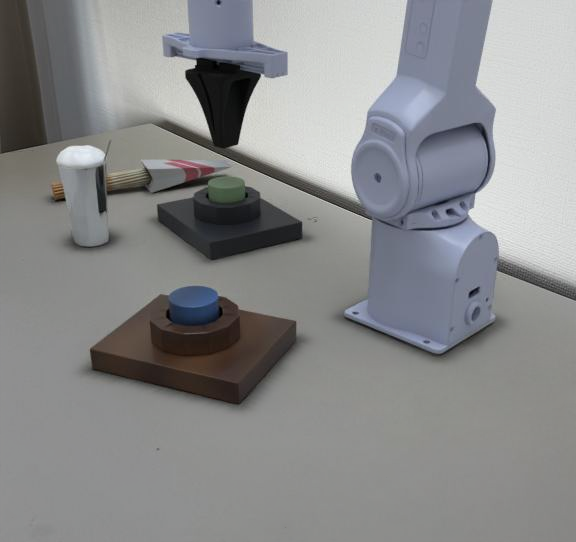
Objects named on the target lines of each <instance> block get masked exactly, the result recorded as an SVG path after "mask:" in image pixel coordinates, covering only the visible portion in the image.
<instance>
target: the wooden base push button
mask: <svg viewBox="0 0 576 542" xmlns="http://www.w3.org/2000/svg"><path fill="white" fill-rule="evenodd" d="M168 298H169V295H168V294H164V293H161V294H159V295H157V296H156V297H155V298H154V299H152V300H151V301H150V302H149V303H147V304H146V305H145V306H143V307H142V308H140V309H139V310H138V311H137V312H135V313H134V314H133V315H131V316H130V317H128V319H127V320H125V321H124V322H123V323H121V324H120V325H118V326H117V327H116V328H114V329H113V330H112V331H111V332H110V333H108V334H107V335H106V336H104V337H103V338H102V339H100V340H99V341H97V342H96V343H95V344H94V345H92V346H91V347H90V348H89V354H90V362H91V368H92V370H97V371H100V372H104V373H109V374H111V375H112V374H113V375H117V376H122V377H126V378H129V379H134V380H137V381H142V382H146V383H150V384H155V385H159V386H163V387H168V388H171V389H174V390H175V389H176V390H180V391H184V392H187V393H193V394H196V395H200V396H205V397H207V398H213V399H217V400H220V401H224V402H231V403H232V404H233V403H234V404H237V405H239V404H240V403H241V402H242V401H243V400H244V399H245V398H246V397H247V396H248V394H249V393H250V392H252V390H253V389H255V387H256V386H257V384H258V383H259V382H260V381H261V380H262V379H263V378H265V376H266V375H267V373H268V372H269V371H270V370H271V369H272V368H273V367H274V366H275V365H276V363H278V361H279V360H280V359H281V358H282V357H283V356H284V354H286V352H288V350H289V349H290V348H291V347H292V346H293V345H294V344H295V343H296V341H297V320H294V319H288V318H284V317H278V316H275V315H270V314H269V315H268V314H264V313H258V312H253V311H248V310H244V309H239V305H238V304H237V303H235V302H234V301H233V300H231V299H229V298H227V297H226V296H222V295H218V298H219V319H218V320H217V321H215V322H212V323H209V324H206V325H203V326H184V325H179V324H174V323H173V322H171V320H170V311H169V299H168Z"/></svg>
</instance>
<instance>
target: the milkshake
mask: <svg viewBox="0 0 576 542" xmlns="http://www.w3.org/2000/svg"><path fill="white" fill-rule="evenodd" d="M112 140H113V139H112V138H110V139H109V140H108V144H107V147H106V151H105V152H104V151H103V150H102V149H100V148H98V147H95V146H93V145H90V144H86V145H69V146H67V147H66V148H65V149H63V150H61V151H60V152H59V153H58V155H57V157H56V160H55V161H56V166H57V169H58V174H59V177H60V182H62V186H63V190H64V194H65V198H64V199H65V203H66V206H67V211H68V212H67V213H68V216H69V221H70V226H71V231H72V233H73V234H72V235H73V239H74V243H75V244H77V245H78V246H80V247H87V248H88V247H89V248H92V247H93V248H94V247H98V246H103V245H104V244H107V243H108V242H109V236H110V235H109V232H110V231H109V213H108V212H109V210H108V191H107V174H108V162H107V161H108V160H107V159H108V158H107V156H108V152H109V149H110V146H111V143H112Z"/></svg>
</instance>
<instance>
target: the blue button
mask: <svg viewBox="0 0 576 542" xmlns="http://www.w3.org/2000/svg"><path fill="white" fill-rule="evenodd" d="M168 296H169V298H168V299H169V311H170V320H171V322H173V323H174V324H179V325H184V326H203V325H206V324H209V323H212V322H215V321H217V320H218V319H219V298H218V296H219V293H218V292H217V290H215V289H213V288H211V287H208V286H203V285H188V286H187V285H186V286H182V287H179V288H177V289H174V290H172V291H171V293H169V295H168Z"/></svg>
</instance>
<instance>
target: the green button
mask: <svg viewBox="0 0 576 542" xmlns="http://www.w3.org/2000/svg"><path fill="white" fill-rule="evenodd" d="M245 186H246V181H245V179H243V178H241V177H238V176H229V175H228V176H218V177H213V178H211V179H210V180H208V181H207V187H208V194H209V200H210V201H214V202H219V203H232V202H237V201H242V200H244V199H245Z"/></svg>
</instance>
